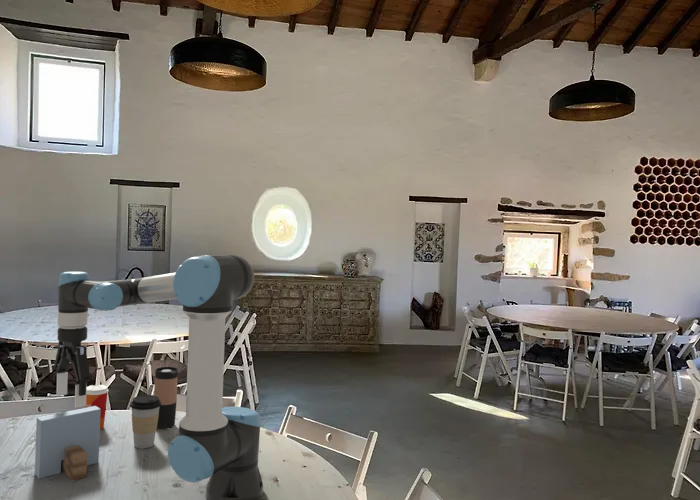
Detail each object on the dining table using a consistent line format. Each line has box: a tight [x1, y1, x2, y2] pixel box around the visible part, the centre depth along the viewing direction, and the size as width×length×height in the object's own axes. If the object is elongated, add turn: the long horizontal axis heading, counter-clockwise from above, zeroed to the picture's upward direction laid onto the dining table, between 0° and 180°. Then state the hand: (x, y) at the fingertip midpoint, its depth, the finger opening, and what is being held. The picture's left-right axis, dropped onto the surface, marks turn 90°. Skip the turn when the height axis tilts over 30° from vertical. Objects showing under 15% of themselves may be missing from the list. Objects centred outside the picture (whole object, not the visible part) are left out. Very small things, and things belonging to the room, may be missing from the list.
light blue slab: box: [34, 406, 101, 479], centre depth 157 cm, size 4×16×16 cm, turn 137°
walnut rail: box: [61, 445, 88, 482], centre depth 157 cm, size 18×4×7 cm, turn 47°
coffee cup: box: [129, 394, 161, 450], centre depth 176 cm, size 9×9×15 cm
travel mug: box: [153, 366, 179, 430], centre depth 193 cm, size 8×8×20 cm
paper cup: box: [84, 384, 109, 431], centre depth 187 cm, size 8×8×14 cm
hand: (70, 400), depth 156 cm, fingers open, 13 cm apart
